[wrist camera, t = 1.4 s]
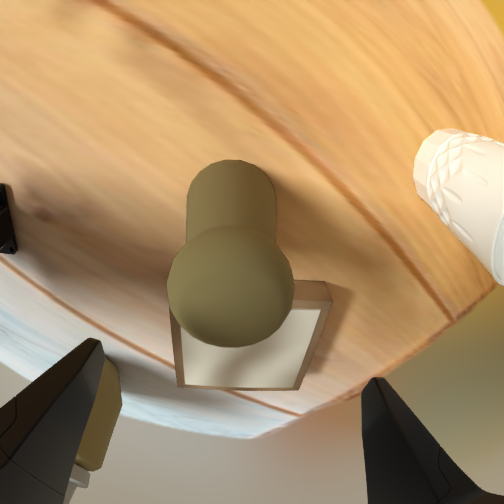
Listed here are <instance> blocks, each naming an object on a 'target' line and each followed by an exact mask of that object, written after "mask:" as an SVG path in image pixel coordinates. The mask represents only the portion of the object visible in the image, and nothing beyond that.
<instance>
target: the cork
mask: <svg viewBox="0 0 504 504" xmlns="http://www.w3.org/2000/svg"><path fill="white" fill-rule="evenodd" d="M166 284H167V293H168V300H169V307H170V309H171V311H172V313H173V315H174V316H175V318H176V320H177V322H178V323H179V324H180V326H181V327H182V328H183V329H184V330H185V331H186V332H187V333H188V334H190V335H191V336H192V337H193V338H195V339H197V340H199V341H201V342H203V343H206V344H209V345H213V346H217V347H222V348H239V347H244V346H249V345H254V344H256V343H258V342H260V341H263V340H265V339H267V338H269V337H270V336H271V335H272V334H273V333H275V332H276V331H277V330H278V329H279V328H280V327H281V325H282V324H283V322H284V321H285V319H286V318H287V316H288V314H289V313H290V311H291V309H292V304H293V298H294V291H295V283H294V279H293V274H292V270H291V267H290V264H289V261H288V260H287V258H286V257H285V255H284V254H283V252H282V251H281V250H280V248H279V247H278V246H277V245H276V195H275V191H274V187H273V184H272V183H271V181H270V180H269V178H268V177H267V175H266V174H265V173H264V172H263V171H261V170H260V169H259V168H257V167H256V166H255V165H253V164H250V163H247V162H244V161H241V160H223V161H220V162H216V163H213V164H210V165H209V166H207V167H206V168H205V169H203V170H202V171H200V172H199V173H198V175H197V176H196V177H195V178H194V180H193V181H192V182H191V185H190V188H189V191H188V194H187V216H186V244H185V245H184V246H183V248H182V249H181V250H180V251H179V253H178V254H177V255H176V257H175V258H174V259H173V262H172V266H171V269H170V272H169V276H168V280H167V283H166Z"/></svg>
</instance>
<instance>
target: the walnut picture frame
mask: <svg viewBox="0 0 504 504" xmlns="http://www.w3.org/2000/svg"><path fill="white" fill-rule="evenodd" d="M294 283H295V291H294V298H293V304H292V309H291V311H290V313H289V314H288V316H287V318H286V319H285V321H284V322H283V324H282V325H281V327H280V328H279V329H278V330H277V331H276V332H275V333H273V334H272V335H271V336H270V337H269V338H267V339H265V340H263V341H260V342H258V343H256V344H254V345H249V346H244V347H239V348H222V347H217V346H213V345H209V344H206V343H203V342H201V341H199V340H197V339H195V338H193V337H192V336H191V335H190V334H188V333H187V332H186V331H185V330H184V329H183V328H182V327H181V326H180V324H179V323H178V322H177V320H176V318H175V316H174V315H173V313H172V311H171V309H170V307H169V310H170V322H171V333H172V343H173V353H174V362H175V370H176V378H177V386H178V387H186V388H199V389H215V390H241V391H289V390H299V388H300V385H301V383H302V381H303V378H304V376H305V374H306V371H307V369H308V366H309V364H310V361H311V359H312V356H313V354H314V351H315V348H316V346H317V343H318V341H319V338H320V335H321V333H322V330H323V327H324V325H325V322H326V319H327V316H328V314H329V311H330V308H331V305H332V302H333V301H332V298H331V296H330V293H329V291H328V288H327V286H326V283H325V281H304V280H294Z"/></svg>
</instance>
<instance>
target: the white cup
mask: <svg viewBox="0 0 504 504" xmlns="http://www.w3.org/2000/svg"><path fill="white" fill-rule="evenodd" d="M413 180H414V184H415V187H416V191H417V194H418V196H419V197H420V198H421V199H422V200H423V201H424V202H425V204H426V205H427V206H428V207H429V208H430V209H432V210H433V211H434V212H435V213H436V214H437V216H438V218H439V219H440V220H441V221H442V222H443V223H444V224H445V225H446V226H447V227H448V228H449V229H450V230H451V232H452V233H453V234H454V235H455V236H456V237H457V238H458V239H459V240H460V241H461V242H462V243H463V244H464V245H465V246H466V247H467V248H468V249H469V250H470V252H471V253H472V254H473V255H474V256H475V257H476V258H477V259H478V260H479V261H480V263H481V264H482V265H483V266H484V267H485V268H486V270H487V271H488V272H489V273H490V274H491V276H492V277H493V278H494V279H495V280H496V282H497V283H499V284H500V285H502V286H504V142H501V141H498V140H495V139H491V138H488V137H485V136H482V135H478V134H471V133H467V132H464V131H461V130H458V129H454V128H447V129H440V130H436V131H435V132H434V133H432V134H431V135H430V136H429V137H427V138H426V139H425V140H424V141H423V143H422V145H421V147H420V149H419V151H418V153H417V155H416V156H415V161H414V170H413Z"/></svg>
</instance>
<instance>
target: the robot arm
mask: <svg viewBox="0 0 504 504" xmlns="http://www.w3.org/2000/svg"><path fill="white" fill-rule="evenodd" d="M17 251H18V247H17V243H16V239H15V235H14V231H13V227H12V223H11V218H10V214H9V209H8V204H7V198H6V193H5V188H4V186H3V184H1V183H0V253H5V254H15V253H16V252H17ZM104 363H105V354H104V350H103V347H102V343H101V341H100V340H97V339H94V338H88V339H86V340H85V341H84V342H82V343H81V344H80V345H78V346H77V347H76V348H75V349H73V350H72V351H71V352H69V353H68V354H67V355H66V356H64V357H63V358H62V359H61V360H59V361H58V362H57V363H56V364H54V365H53V366H52V367H51V368H49V369H48V370H47V371H46V372H44V373H43V374H42V375H41V376H39V377H38V378H37V379H36V380H34V381H33V382H32V383H31V384H29V385H28V386H27V387H26V388H25V389H23V390H22V391H21V392H20V393H19V394H17V395H16V397H14V398H12V399H11V400H10V401H9V402H8V403H6V404H5V405H4V406H2V407H1V408H0V504H63V502H64V498H65V494H66V490H67V487H68V483H69V479H70V476H71V472H72V469H73V465H74V462H75V459H76V456H77V452H78V449H79V446H80V443H81V440H82V437H83V434H84V431H85V428H86V425H87V422H88V419H89V416H90V413H91V410H92V408H93V405H94V402H95V398H96V395H97V390H98V386H99V382H100V378H101V374H102V370H103V367H104ZM361 408H362V439H363V449H364V459H365V470H366V481H367V495H368V504H504V496H501V495H496V494H492V493H489V492H486V491H484V490H482V489H481V488H480V487H478V486H477V485H476V484H475V483H474V482H473V481H472V480H471V479H470V478H469V477H468V476H467V475H466V474H465V473H464V472H463V471H462V470H461V469H460V468H459V467H458V466H457V464H456V463H454V461H453V460H452V459H451V458H450V457H449V456H448V454H447V453H446V452H445V451H444V449H443V448H442V447H440V445H439V443H438V442H437V441H436V440H435V438H434V437H433V436H432V435H431V434H430V433H429V431H428V430H427V429H426V428H425V426H424V425H423V424H422V423H421V421H420V420H419V419H418V418H417V417H416V415H414V413H413V412H412V411H411V410H410V408H409V407H408V406H407V405H406V403H405V402H404V401H403V400H402V399H401V398H400V396H399V395H398V394H397V393H396V391H395V390H394V389H393V388H392V387H391V386H390V384H389V383H388V382H387V381H386V379H384V378H383V377H373V378H371V380H370V381H369V382H368V384H367V385H366V386H365V388H364V389H363V391H362V394H361Z"/></svg>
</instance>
